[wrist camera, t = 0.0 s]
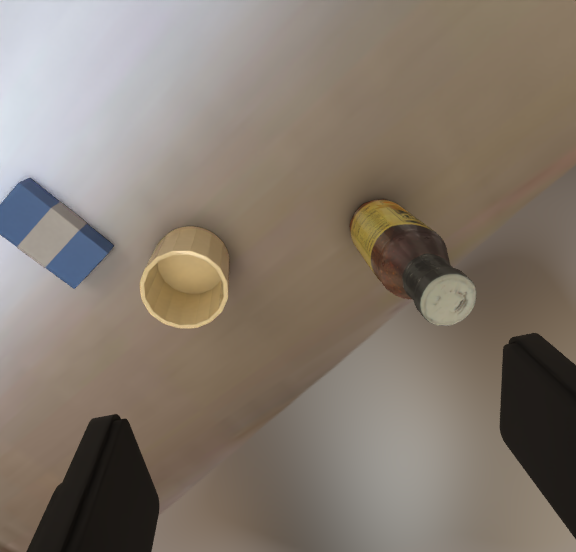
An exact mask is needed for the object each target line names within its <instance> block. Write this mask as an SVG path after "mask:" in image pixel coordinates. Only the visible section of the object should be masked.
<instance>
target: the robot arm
mask: <svg viewBox="0 0 576 552" xmlns="http://www.w3.org/2000/svg"><path fill="white" fill-rule="evenodd" d="M502 366H503V367H502V388H501V409H500V411H501V412H500V432H501V435H502V438H503V440H504V442H505V443H506V445H507V446H508V448H509V449H510V450H511V452H512V453H513V454H514V456H515V457H516V459H517V460H518V461H519V463H520V464H521V465H522V466H523V468H524V469H525V471H526V472H527V473H528V475H529V476H530V478H531V479H532V480H533V482H534V483H535V484H536V486H537V487H538V488H539V490H540V491H541V492H542V494H543V495H544V497H545V498H546V499H547V500H548V502H549V503H550V505H551V506H552V507H553V509H554V510H555V512H556V513H557V514H558V516H559V517H560V518H561V520H562V521H563V523H564V524H565V525H566V527H567V528H568V529H569V531H570V532H571V533H572V535H573V536H574V537H575V539H576V365H575V364H574V363H572V362H571V361H570V360H569V359H568V358H566V357H565V356H564V355H563V354H562V353H561V352H559V351H558V350H557V349H556V348H555V347H553V346H552V345H551V344H550V343H549V342H547V341H546V340H545V339H544V338H543V337H542V336H540V335H539V334H537V333H532V334H526V335H522V336H516V337H512V338H511V339H510V340H509V344H507V345H505V346H504V349H503V364H502ZM158 514H159V498H158V495H157V492H156V489H155V487H154V484H153V482H152V479H151V477H150V474H149V472H148V469H147V467H146V464H145V462H144V459H143V457H142V454H141V452H140V449H139V447H138V444H137V442H136V439H135V437H134V434H133V432H132V429H131V427H130V424H129V422H128V420H127V419H121V418H120V417H119V416H118V415H117V414H114V415H109V416H104V417H98V418H93V419H92V420H91V421H90V422H89V424H88V426H87V429H86V431H85V433H84V435H83V438H82V440H81V442H80V444H79V447H78V449H77V451H76V453H75V456H74V458H73V460H72V462H71V464H70V467H69V469H68V471H67V473H66V476H65V478H64V480H63V482H62V483H61V484H60V485H59V486H57V488H56V490H55V491H54V493H53V495H52V497H51V500H50V502H49V504H48V506H47V508H46V510H45V513H44V515H43V517H42V519H41V521H40V524H39V526H38V528H37V530H36V532H35V534H34V537H33V539H32V541H31V543H30V545H29V548H28V550H27V552H151V550H152V545H153V540H154V535H155V530H156V525H157V519H158Z"/></svg>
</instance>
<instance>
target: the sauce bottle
mask: <svg viewBox="0 0 576 552" xmlns="http://www.w3.org/2000/svg"><path fill="white" fill-rule="evenodd" d="M350 232H351V236H352V240H353V243H354V245H355V246H356V247H357V249H358V250H359V252H360V253H361V255H362V256H363V258H364V259H365V261H366V262H367V264H368V265H369V267H370V268H371V270H372V271H373V272H374V274H375V275H376V276H377V278H378V279H379V280H380V281H381V282H382V284H383V285H384V286H385V288H386V289H388V290H389V291H390V292H392V293H393V294H395V295H396V296H399V297H401V298H407V299H413V300H414V303H415V305H416V308H417V310H418V311H419V312H420V313H421V314H422V316H423V317H424V318H425V319H426V320H427V321H428V322H430V323H432V324H434V325H438V326H448V325H453V324H456V323H458V322H460V321H462V320H463V319H464V318H465V317H466V316H468V315H469V313H470V312H471V311H472V309H473V306H474V304H475V300H476V290H475V286H474V284H473V282H472V281H471V280H470V279H469V278H468V277H467V276H466V275H465V274H464V273H463V272H462V271H460V270H458V269H455V268H453V267H452V266H451V265H450V262H449V258H448V253H447V248H446V245H445V243H444V241H443V239H442V238H441V237H440V236H439V235H438V234H437V233H436V232H434V231H433V230H432V229H431V228H429V227H428V226H426V225H425V224H424V223H422V222H421V221H419V220H418V219H417V218H415V217H414V216H413V215H411V214H410V213H409V212H407V211H406V210H404V209H403V208H402V207H400V206H399V205H398V204H396V203H394V202H391V201H388V200H384V199H383V200H373V201H370V202H367V203H365V204H363V205H361V207H360V208H359V209H358V210H357V211H356V212H355V214H354V216H353V218H352V220H351V222H350Z"/></svg>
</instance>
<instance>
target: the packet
mask: <svg viewBox="0 0 576 552" xmlns="http://www.w3.org/2000/svg"><path fill="white" fill-rule="evenodd" d="M0 235H1V236H3V237H4V238H6V239H7V240H8V241H10V242H11V243H12V244H14V245H15V246H16V247H17V248H18V249H20V250H21V251H22V252H24V253H25V254H26V255H28V256H29V257H30V258H32V259H33V260H35V261H36V262H37V263H39V264H40V265H41V266H43V267H44V268H46V269H48V270H49V271H50V272H52V273H53V274H55V275H56V276H57V277H59V278H60V279H61V280H63V281H64V282H65V283H67V284H68V285H69V286H71V287H72V288H74V289H75V288H76V287H77V286H78V285H79V284H80V283H81V282H82V281H83V279H84V278H85V277H86V276H87V275H88V274H89V273H90V272H91V271H92V270H93V269H94V268H95V267H96V266H97V265H98V264H99V263H100V262H101V260H102V259H103V258H104V257H105V256H106V255H107V254H108V253H109V252H110V250H111V249H112V248H113V247H114V245H113V244H112V243H110V242H109V241H108V240H107V239H105V238H104V237H103V236H102V235H100V234H99V233H98V232H97V231H95V230H94V229H93V228H92V227H90V226H89V225H88V224H87V223H86V222H85V221H84V220H83V219H81V218H80V217H79V216H78V215H76V214H75V213H74V212H73V211H71V210H70V209H69V208H68V207H66V206H65V205H64V204H63V203H61V202H59V201H58V200H57V199H56V198H54V197H53V196H52V195H51V194H49V193H48V192H47V191H46V190H44V189H43V188H42V187H41V186H39V185H38V184H37V183H36V182H34V181H33V180H32V179H31V178H28V179H26V180H24V181H22V182H19V183H18V184H17V185H16V186H15V188H14V189H13V190H12V191H11V192H10V194H9V195H8V196H7V197H6V198H5V200H4V201H3V202H2V203H1V204H0Z"/></svg>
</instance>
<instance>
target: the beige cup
mask: <svg viewBox="0 0 576 552" xmlns="http://www.w3.org/2000/svg"><path fill="white" fill-rule="evenodd" d="M229 263H230V261H229V254H228V251H227V249H226V247H225V245H224V243H223V242H222V241H221V240H220V239H219V238H218V237H217V236H216V235H215V234H213V233H212V232H210V231H208V230H206V229H203V228H200V227H192V226H189V227H181V228H178V229H175V230H173V231H171V232H169V233H168V234H167V235H165V236H164V237H163V238H162V240H161V241H160V242H159V243H158V244H157V246H156V248H155V250H154V252H153V254H152V256H151V258H150V260H149V262H148V264H147V266H146V268H145V270H144V273H143V275H142V278H141V281H140V292H141V299H142V301H143V303H144V305H145V306H146V308H147V310H148V311H149V313H150V314H151V315H153V316H154V317H155V318H156V319H158V320H159V321H160V322H162V323H163V324H166V325H169V326H173V327H176V328H179V329H180V328H197V327H200V326H202V325H205V324H207V323H210V322H211V321H212V320H214V319H215V318H216V317H217V316H218V315H219V314H220V313H221V312H222V311H223V308H224V306H225V304H226V301H227V299H228V289H229V272H230V264H229Z"/></svg>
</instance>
